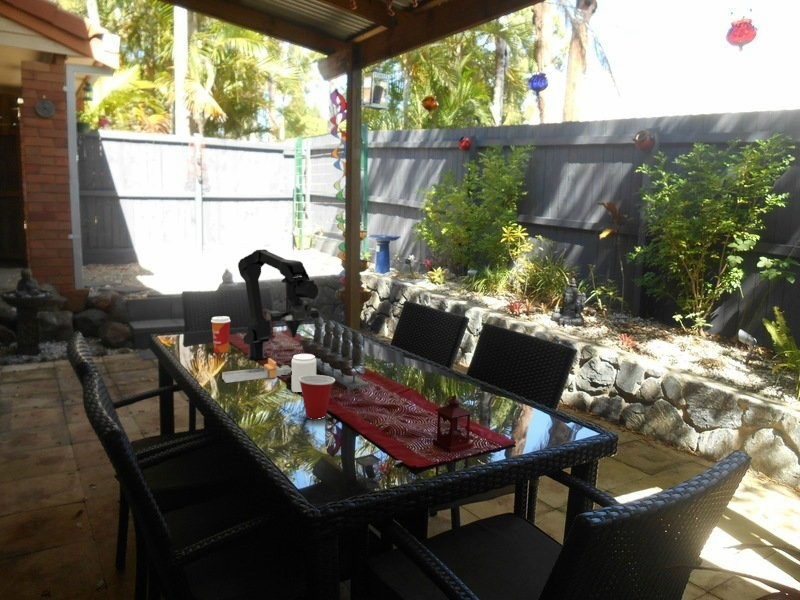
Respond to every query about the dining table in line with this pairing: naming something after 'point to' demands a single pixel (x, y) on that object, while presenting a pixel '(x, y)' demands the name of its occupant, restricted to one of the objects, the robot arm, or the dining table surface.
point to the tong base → (255, 374)
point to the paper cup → (221, 333)
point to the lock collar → (271, 368)
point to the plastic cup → (316, 394)
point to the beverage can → (302, 369)
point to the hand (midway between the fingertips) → (293, 337)
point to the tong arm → (242, 371)
